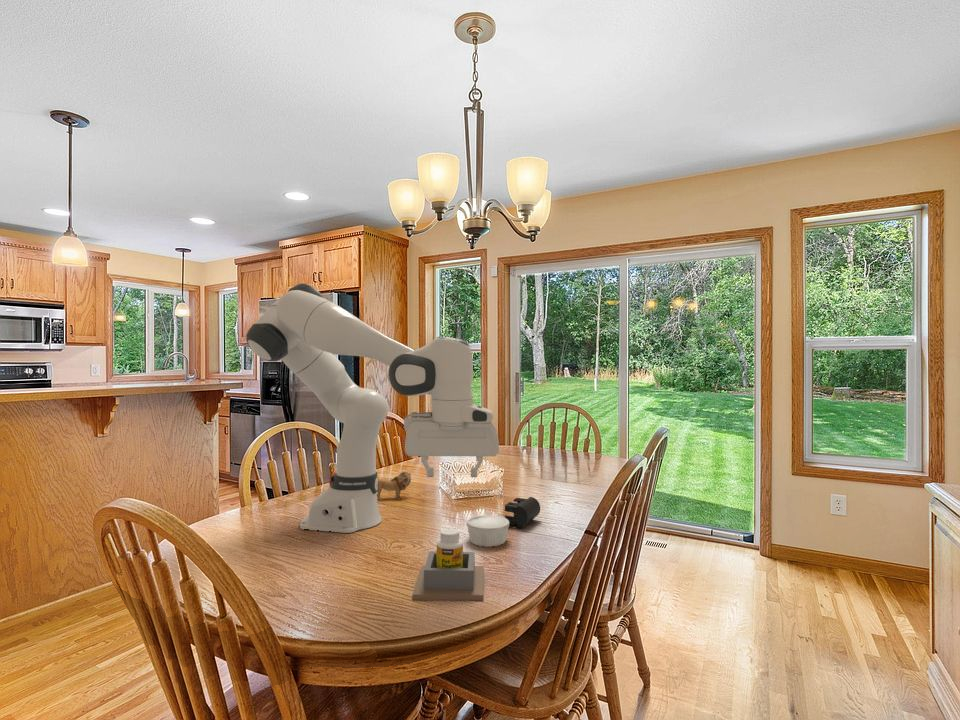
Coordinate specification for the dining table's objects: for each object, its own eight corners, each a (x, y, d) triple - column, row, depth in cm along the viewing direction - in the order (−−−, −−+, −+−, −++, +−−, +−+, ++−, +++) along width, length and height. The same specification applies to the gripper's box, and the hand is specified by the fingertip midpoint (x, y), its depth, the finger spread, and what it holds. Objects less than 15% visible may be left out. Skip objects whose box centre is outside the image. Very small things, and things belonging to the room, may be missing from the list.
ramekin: (480, 531, 143) (480, 512, 143) (516, 538, 137) (516, 518, 137) (458, 543, 133) (458, 523, 133) (496, 552, 128) (496, 530, 128)
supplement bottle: (438, 586, 106) (438, 536, 106) (434, 575, 111) (434, 527, 111) (465, 584, 107) (465, 534, 107) (460, 573, 113) (460, 526, 113)
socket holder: (412, 599, 103) (412, 574, 102) (421, 570, 117) (421, 548, 116) (483, 600, 102) (483, 575, 102) (483, 570, 116) (483, 548, 116)
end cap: (527, 531, 143) (527, 506, 143) (504, 527, 146) (504, 503, 146) (540, 520, 152) (540, 497, 152) (518, 517, 155) (518, 494, 155)
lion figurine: (410, 495, 179) (410, 469, 179) (411, 499, 174) (411, 472, 174) (366, 498, 175) (366, 471, 175) (367, 502, 170) (367, 475, 170)
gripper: (401, 413, 108) (401, 479, 108) (499, 414, 108) (499, 480, 108) (406, 410, 115) (405, 473, 115) (498, 410, 115) (498, 473, 115)
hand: (452, 476), depth 112 cm, fingers open, 8 cm apart
